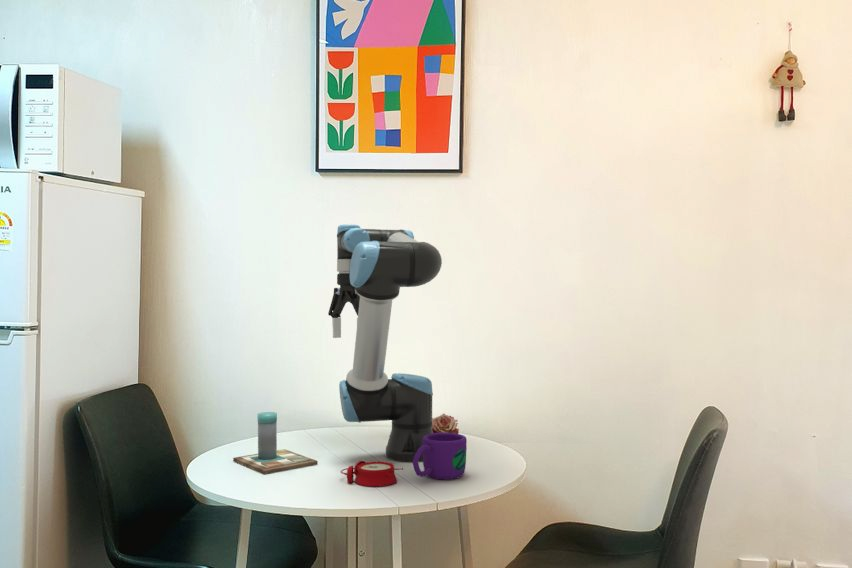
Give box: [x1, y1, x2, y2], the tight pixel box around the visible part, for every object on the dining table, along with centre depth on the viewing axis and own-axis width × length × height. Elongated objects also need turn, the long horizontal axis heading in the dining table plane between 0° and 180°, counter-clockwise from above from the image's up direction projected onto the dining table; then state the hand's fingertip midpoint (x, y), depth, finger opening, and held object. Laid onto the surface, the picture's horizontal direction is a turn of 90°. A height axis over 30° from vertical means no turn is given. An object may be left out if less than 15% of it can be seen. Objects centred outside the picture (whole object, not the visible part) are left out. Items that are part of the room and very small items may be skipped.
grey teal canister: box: [257, 411, 278, 460], centre depth 194 cm, size 5×5×12 cm
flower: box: [432, 413, 460, 434], centre depth 223 cm, size 10×9×8 cm
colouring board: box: [232, 449, 318, 476], centre depth 194 cm, size 18×16×1 cm
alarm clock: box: [340, 460, 404, 487], centre depth 177 cm, size 10×6×15 cm
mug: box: [412, 433, 468, 481], centre depth 180 cm, size 17×11×10 cm, turn 138°
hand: (348, 339), depth 227 cm, fingers open, 13 cm apart
